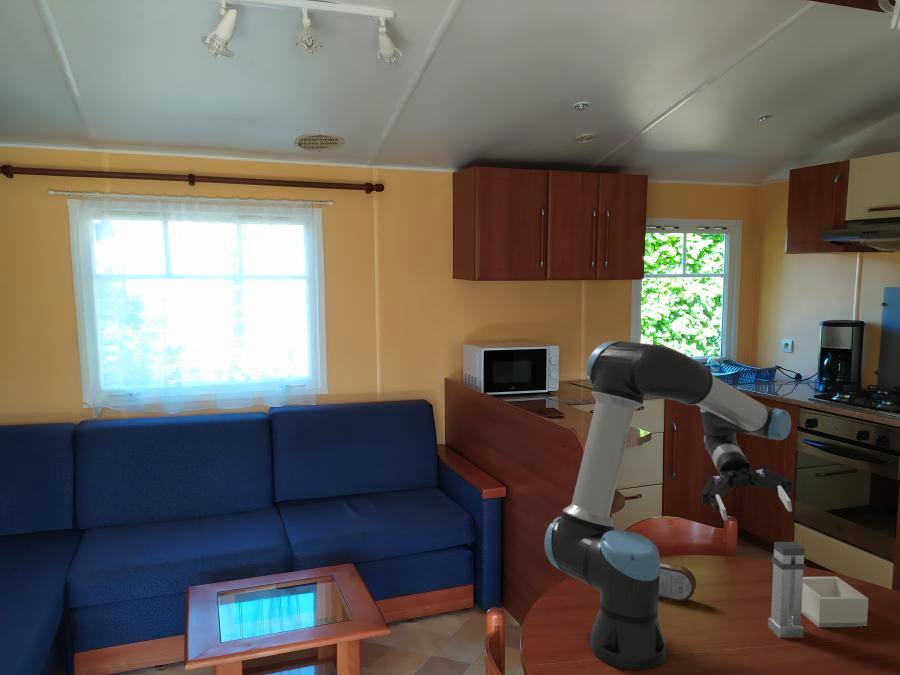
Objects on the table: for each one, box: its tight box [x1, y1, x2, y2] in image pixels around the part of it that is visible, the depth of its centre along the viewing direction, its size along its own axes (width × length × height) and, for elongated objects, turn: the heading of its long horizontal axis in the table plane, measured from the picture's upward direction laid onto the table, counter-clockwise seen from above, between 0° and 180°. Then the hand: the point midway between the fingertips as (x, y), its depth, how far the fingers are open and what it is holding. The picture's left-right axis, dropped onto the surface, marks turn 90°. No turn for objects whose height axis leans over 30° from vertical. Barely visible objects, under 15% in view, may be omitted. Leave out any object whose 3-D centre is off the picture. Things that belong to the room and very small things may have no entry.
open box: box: [801, 576, 869, 628], centre depth 148 cm, size 11×11×6 cm
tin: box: [659, 560, 697, 602], centre depth 157 cm, size 15×3×8 cm, turn 63°
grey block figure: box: [767, 541, 807, 639], centre depth 140 cm, size 5×5×20 cm
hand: (756, 510), depth 142 cm, fingers open, 13 cm apart
